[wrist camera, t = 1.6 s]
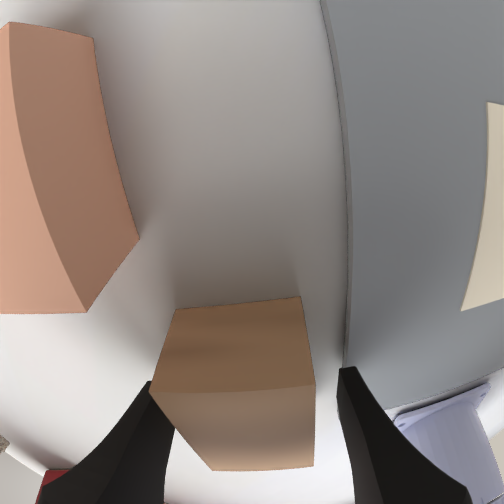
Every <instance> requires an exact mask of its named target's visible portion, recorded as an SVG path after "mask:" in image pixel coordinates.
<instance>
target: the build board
mask: <svg viewBox="0 0 504 504" xmlns="http://www.w3.org/2000/svg"><path fill="white" fill-rule="evenodd" d="M320 3H321V7H322V11H323V16H324V20H325V25H326V30H327V35H328V40H329V45H330V50H331V56H332V62H333V68H334V74H335V80H336V87H337V94H338V102H339V110H340V118H341V127H342V137H343V148H344V160H345V175H346V192H347V218H348V286H347V312H346V330H345V344H344V356H343V367H342V368H345V367H351V366H355V367H357V369H358V371H359V373H360V374H361V376H362V378H363V380H364V381H365V383H366V385H367V386H368V388H369V390H370V391H371V393H372V394H373V396H374V397H375V399H376V400H377V402H378V403H379V405H380V406H381V407H382V409H383V410H387V409H391V408H395V407H399V406H402V405H406V404H409V403H413V402H416V401H419V400H423V399H426V398H429V397H432V396H435V395H438V394H441V393H444V392H446V391H449V390H452V389H455V388H457V387H460V386H462V385H465V384H467V383H470V382H472V381H475V380H477V379H479V378H482V377H484V376H486V375H488V374H491V373H493V372H495V371H497V370H499V369H501V368H503V367H504V0H320ZM337 412H338V417H339V411H338V410H337ZM339 420H340V418H339Z"/></svg>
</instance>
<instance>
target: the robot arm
mask: <svg viewBox="0 0 504 504" xmlns="http://www.w3.org/2000/svg"><path fill="white" fill-rule="evenodd" d="M151 382H152V381H147V382H146V384H145V385H144V387H143V388H142V389H141V391H140V392H139V394H138V395H137V397H136V398H135V399H134V401H133V402H132V404H131V405H130V406H129V408H128V409H127V411H126V412H125V413H124V415H123V416H122V417H121V419H120V420H119V421H118V423H117V424H116V425H115V426H114V428H113V429H112V430H111V431H110V432H109V434H108V435H107V436H106V437H105V438H104V439H103V441H102V442H101V443H100V444H99V445H98V446H97V447H96V448H95V449H94V450H93V451H92V452H91V453H90V454H89V455H88V456H86V457H85V458H84V459H83V460H82V461H81V462H79V463H78V464H77V465H76V466H74V467H73V468H72V469H70V470H69V471H67V472H66V473H65V474H63V475H62V476H60V477H58V478H57V479H55V480H53V481H51V482H50V483H48V484H46V485H44V486H43V487H42V490H41V493H40V496H39V499H38V502H37V504H164V484H165V474H166V468H167V463H168V458H169V454H170V449H171V445H172V440H173V435H174V431H175V427H174V425H173V424H172V423H171V422H170V420H169V419H168V418H167V416H166V415H165V414H164V412H163V411H162V410H161V408H160V407H159V406H158V404H157V403H156V402H155V400H154V399H153V397H152V396H151V394H150V393H149V389H150V385H151ZM490 388H491V386H490V384H489V383H486V384H484V385H481V386H479V387H477V388H475V389H472V390H470V391H467V392H465V393H463V394H460V395H457V396H455V397H452V398H450V399H447V400H444V401H441V402H439V403H436V404H433V405H430V406H427V407H424V408H421V409H418V410H414V411H411V412H408V413H404V414H401V415H399V416H398V417H397V418H396V419H395V421H394V423H393V422H392V421H391V419H390V418H389V417H388V416H387V414H386V413H385V412H384V410H383V409H382V407H381V406H380V405H379V403H378V402H377V400H376V399H375V397H374V396H373V394H372V393H371V391H370V390H369V388H368V386H367V385H366V383H365V381H364V380H363V378H362V376H361V374H360V373H359V371H358V369H357V367H355V366H351V367H345V368H340V369H339V376H338V386H337V396H336V397H337V404H338V411H339V418H340V422H341V426H342V430H343V434H344V438H345V442H346V446H347V450H348V454H349V458H350V463H351V468H352V475H353V484H354V494H355V504H504V494H502V493H503V492H504V485H503V481H502V477H501V474H500V471H499V468H498V465H497V462H496V459H495V457H494V454H493V451H492V448H491V446H490V443H489V441H488V438H487V435H486V433H485V431H484V428H483V426H482V423H481V421H480V419H479V416H478V414H477V412H476V410H475V409H476V408H477V407H478V405H479V404H480V403H481V401H482V400H483V398H484V397H485V396H486V394H487V393H488V391H489V390H490ZM500 494H502V495H501V496H499V495H500ZM497 496H499V497H497ZM496 497H497V498H496ZM494 498H495V499H494ZM493 499H494V500H493ZM491 500H492V501H491ZM489 501H490V502H489Z"/></svg>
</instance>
